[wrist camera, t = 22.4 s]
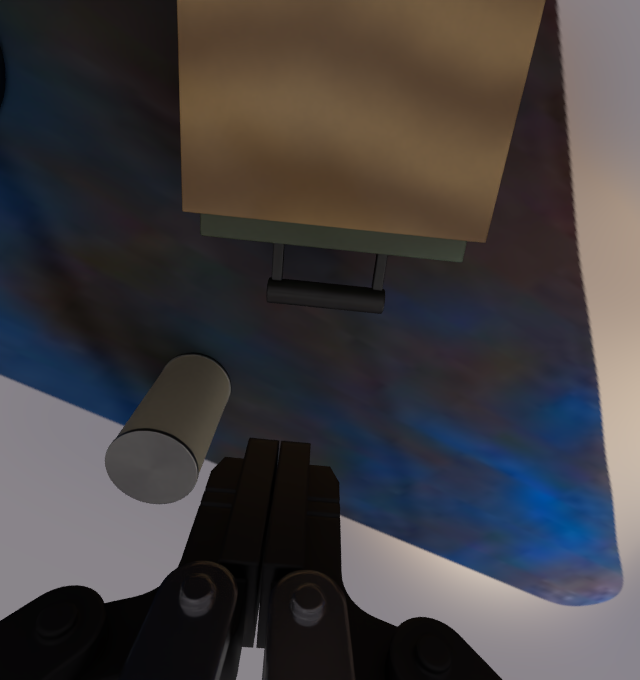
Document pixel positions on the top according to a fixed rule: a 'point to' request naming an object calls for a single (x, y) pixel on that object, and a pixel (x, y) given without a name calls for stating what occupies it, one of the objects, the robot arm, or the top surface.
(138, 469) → the tin can
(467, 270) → the top surface
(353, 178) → the cabinet
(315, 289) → the drawer
